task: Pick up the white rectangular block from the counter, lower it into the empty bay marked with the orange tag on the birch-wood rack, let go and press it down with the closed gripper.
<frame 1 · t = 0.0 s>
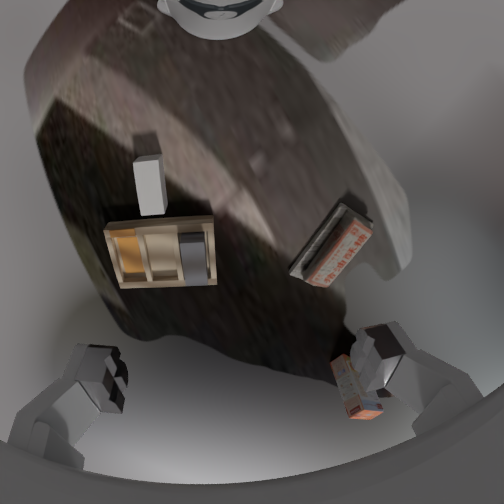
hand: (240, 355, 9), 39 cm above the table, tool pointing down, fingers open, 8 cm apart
white rectangular block: (153, 180, 43), on the table
rack: (163, 249, 51), on the table
cracker box: (346, 362, 83), on the table
packaged product: (329, 245, 56), on the table
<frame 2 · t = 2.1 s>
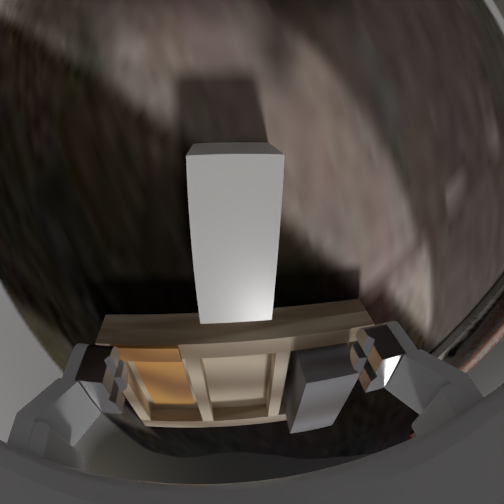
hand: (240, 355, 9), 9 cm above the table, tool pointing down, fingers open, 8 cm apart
white rectangular block: (230, 218, 16), on the table
rack: (236, 365, 23), on the table
packaged product: (476, 319, 28), on the table
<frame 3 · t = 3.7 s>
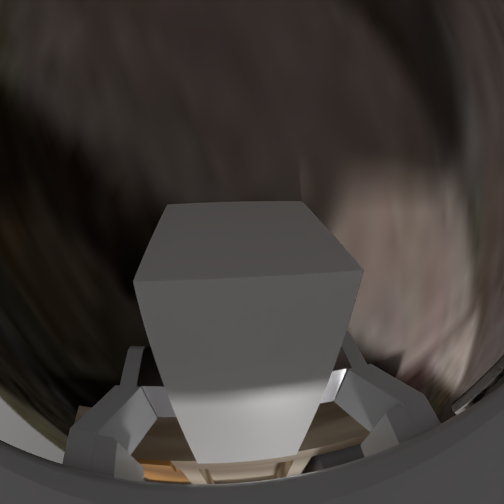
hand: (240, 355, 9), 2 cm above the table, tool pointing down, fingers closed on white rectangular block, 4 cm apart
white rectangular block: (236, 320, 10), on the table, touching gripper
rack: (242, 450, 16), on the table
packaged product: (501, 362, 22), on the table
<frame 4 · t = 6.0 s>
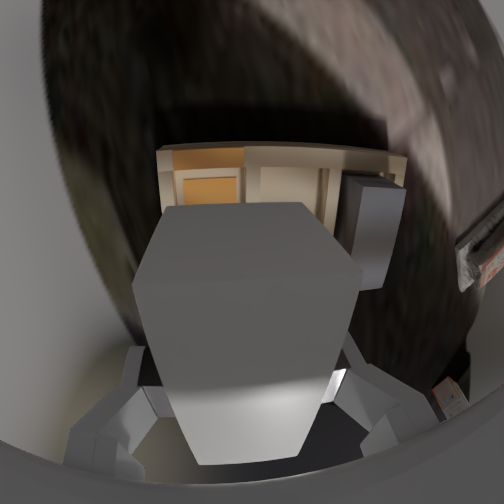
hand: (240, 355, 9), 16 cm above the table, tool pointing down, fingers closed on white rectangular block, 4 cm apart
white rectangular block: (236, 321, 10), point 15 cm above the table, touching gripper
rack: (283, 216, 24), on the table
cracker box: (444, 385, 53), on the table
packaged product: (490, 234, 30), on the table
when the fingers open (4 cm above the table, at t = 8.6 s): white rectangular block stays where it is, resting on rack.
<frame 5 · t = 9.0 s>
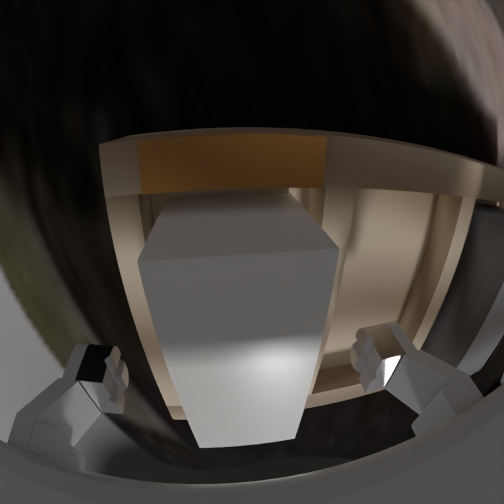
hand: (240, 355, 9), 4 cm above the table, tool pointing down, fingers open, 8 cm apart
white rectangular block: (233, 307, 11), point 2 cm above the table, touching rack
rack: (358, 274, 13), on the table
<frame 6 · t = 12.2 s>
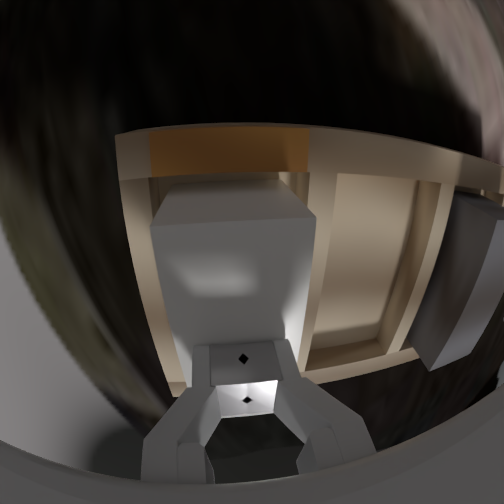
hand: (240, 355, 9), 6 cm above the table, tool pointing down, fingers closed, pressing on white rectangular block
white rectangular block: (230, 283, 12), point 2 cm above the table, touching gripper, rack
rack: (347, 257, 14), on the table
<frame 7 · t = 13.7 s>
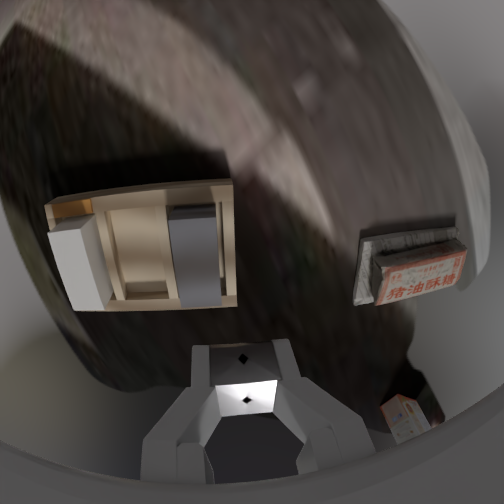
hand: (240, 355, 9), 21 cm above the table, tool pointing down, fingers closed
white rectangular block: (89, 254, 27), point 2 cm above the table, touching rack
rack: (143, 245, 29), on the table
cracker box: (398, 402, 56), on the table
packaged product: (406, 260, 35), on the table
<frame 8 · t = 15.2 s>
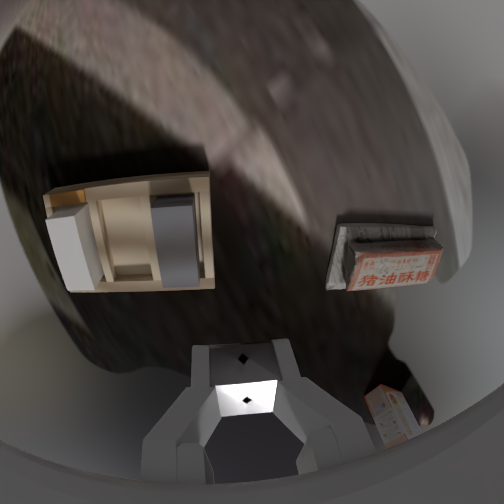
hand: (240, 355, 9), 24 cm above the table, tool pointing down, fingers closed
white rectangular block: (82, 240, 29), point 2 cm above the table, touching rack
rack: (131, 231, 31), on the table
cracker box: (382, 393, 59), on the table
packaged product: (382, 252, 38), on the table
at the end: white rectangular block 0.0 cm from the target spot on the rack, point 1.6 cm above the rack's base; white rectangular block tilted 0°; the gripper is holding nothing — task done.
